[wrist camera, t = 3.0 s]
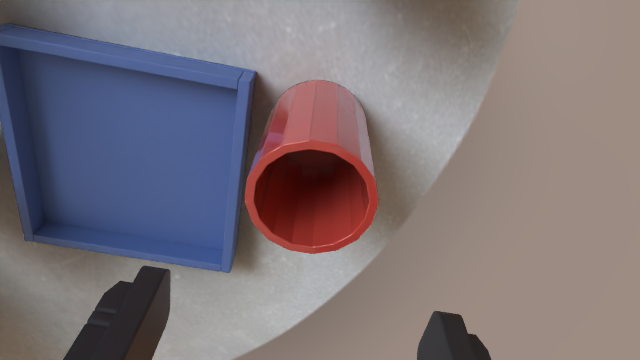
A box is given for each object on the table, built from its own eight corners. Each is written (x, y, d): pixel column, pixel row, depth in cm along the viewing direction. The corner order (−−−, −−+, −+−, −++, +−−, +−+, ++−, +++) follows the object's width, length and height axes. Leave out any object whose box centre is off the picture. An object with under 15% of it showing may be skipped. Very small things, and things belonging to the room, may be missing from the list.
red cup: (376, 89, 24) (393, 155, 17) (354, 176, 27) (360, 262, 20) (276, 70, 24) (252, 129, 17) (264, 160, 26) (239, 242, 19)
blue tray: (256, 70, 24) (250, 81, 22) (235, 254, 30) (229, 273, 29) (7, 23, 23) (-19, 30, 21) (41, 223, 29) (24, 240, 28)
